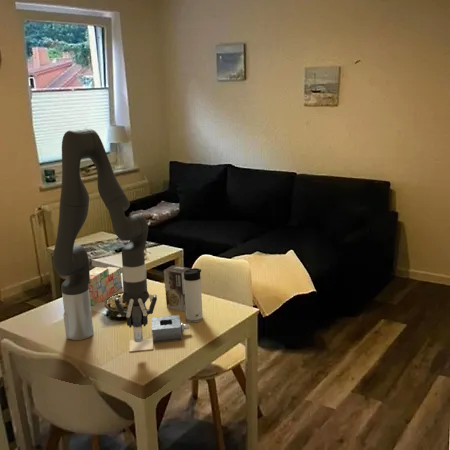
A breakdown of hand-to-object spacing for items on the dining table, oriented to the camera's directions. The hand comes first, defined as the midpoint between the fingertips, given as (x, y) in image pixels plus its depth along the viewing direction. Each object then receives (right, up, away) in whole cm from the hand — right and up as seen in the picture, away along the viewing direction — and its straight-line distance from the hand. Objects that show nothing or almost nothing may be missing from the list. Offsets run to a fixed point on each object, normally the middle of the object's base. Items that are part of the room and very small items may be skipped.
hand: (137, 325), depth 174 cm
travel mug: (+17, -3, +28) cm, 33 cm away
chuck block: (+9, -6, +17) cm, 20 cm away
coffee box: (+10, 0, +40) cm, 41 cm away
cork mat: (0, -9, +9) cm, 13 cm away
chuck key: (0, -5, +1) cm, 5 cm away
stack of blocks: (-24, +2, +54) cm, 59 cm away
